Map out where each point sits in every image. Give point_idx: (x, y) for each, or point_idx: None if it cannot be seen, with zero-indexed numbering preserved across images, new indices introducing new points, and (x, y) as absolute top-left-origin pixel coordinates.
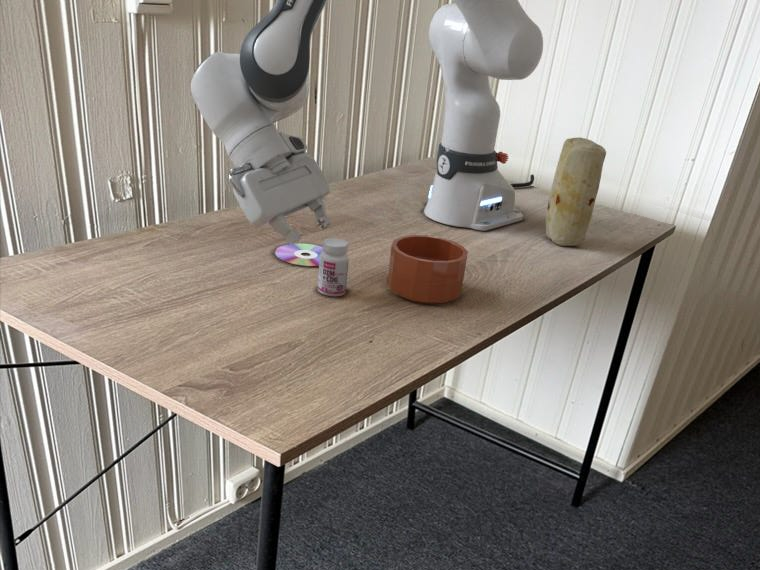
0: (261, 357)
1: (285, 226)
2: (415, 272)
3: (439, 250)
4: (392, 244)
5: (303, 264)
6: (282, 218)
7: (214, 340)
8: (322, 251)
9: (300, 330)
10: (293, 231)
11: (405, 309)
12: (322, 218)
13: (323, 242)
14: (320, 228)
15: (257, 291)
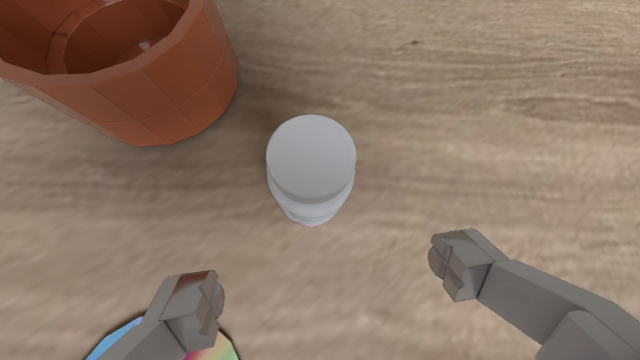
0: (591, 112)
1: (555, 282)
2: (217, 13)
3: (21, 37)
4: (136, 67)
5: (230, 356)
6: (611, 323)
7: (636, 197)
8: (325, 206)
9: (483, 129)
10: (490, 253)
11: (271, 65)
12: (198, 305)
13: (345, 183)
14: (221, 301)
15: (444, 308)
